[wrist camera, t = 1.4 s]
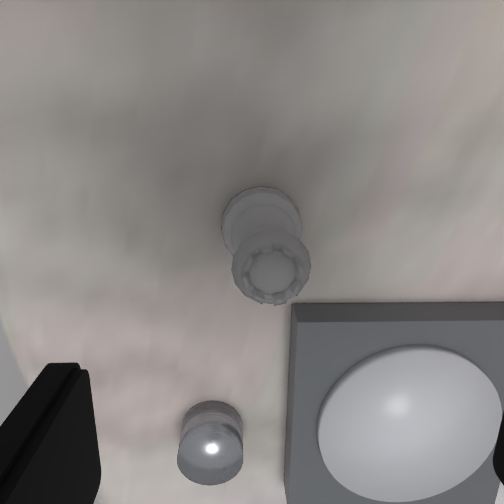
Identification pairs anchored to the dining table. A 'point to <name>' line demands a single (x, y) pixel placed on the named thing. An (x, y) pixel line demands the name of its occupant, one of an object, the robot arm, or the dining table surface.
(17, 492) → the robot arm
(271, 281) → the rook chess piece
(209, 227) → the dining table surface
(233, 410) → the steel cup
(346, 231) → the dining table surface
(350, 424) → the scale
